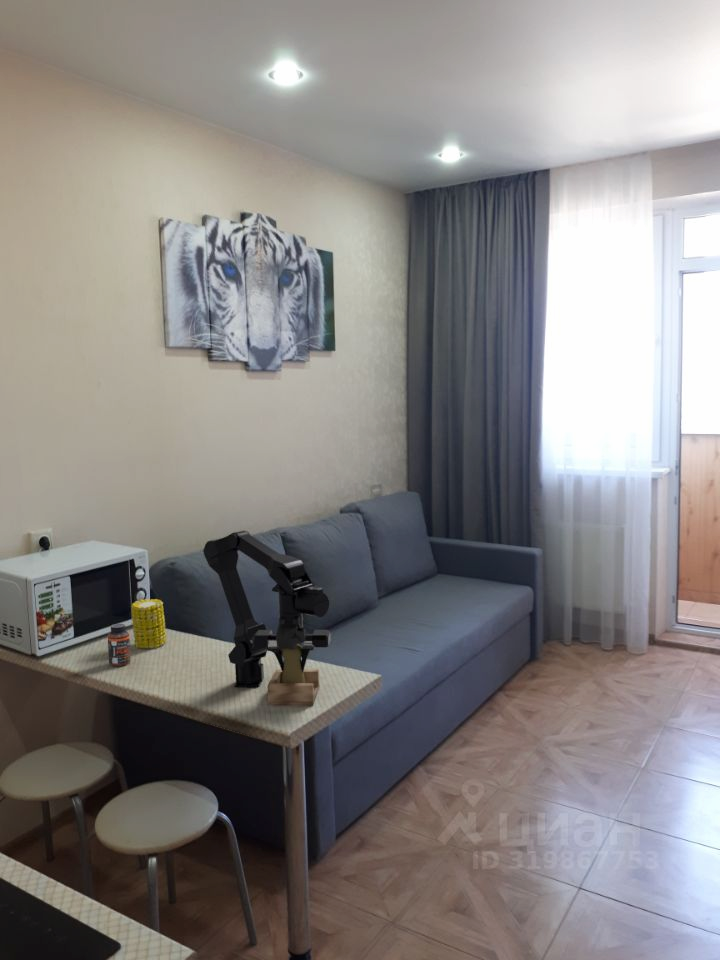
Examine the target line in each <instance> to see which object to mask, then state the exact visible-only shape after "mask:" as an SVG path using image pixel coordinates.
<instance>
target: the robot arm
mask: <svg viewBox="0 0 720 960" xmlns="http://www.w3.org/2000/svg"><path fill="white" fill-rule="evenodd" d="M202 550H203V556H204V558H205V560H206V562H207V564H208V566H209V567H210V568H211V569H212V570H213V571H214V572H215V573H216V574H217V575H218V577H219V580H220V583H221V586H222V589H223V593H224V595H225V597H226V601H227V604H228V607H229V610H230V612H231V616H232V619H233V623H234V624H235V629H234V634H233V641H234V647H233V648H232V650H231V651H230V652H229V653H228V659H229V663H230V664H234V665H235V666H234V667H235V669H234V670H235V683H234V688H235V687H236V688H241V687H242V688H243V687H246V688H247V687H253V688H257V687H260V685H261V683H262V682H263V681H264V679H265V674H264V672H265V671H264V669H265V667H264V663H262V659H263V658H266V657H267V652H268V651H271V652H272V653H273V654H274V656H275V658H276V659H277V661H278V664H279V667H280V670H282V672H283V670H284V658H283V656H282V649H291V650H293V649H296V648H297V644H299V645H301V644H302V643H303V645H302V646H301V647H302V656H301V669H302V672H303V671H304V670H305V667H306V664H307V661H308V657H309V654H310V651H315V648H328V647H329V646H330V644H331V637H332V636H331V631H330V630H329V629H314V630H313V633H306V628H305V627H304V624H303V623H304V622H303V621H304V617H303V615H306V616H311V617H317V618H322V617H324V616H325V615H327V612H328V611H329V607H330V600H329V596H328V595H327V594H326V593H324V589H323V587H315V583H314V582H313V579H312V578H311V576H310V574H309V573H308V570H307V569H306V567H305V563H304V562H303V561H302V560H301V559H299V558H297V557H294V556H292V555H288V554H283V553H279V552H277V551H276V550H274V549H273V548H271V546H270V547H269V546H268V545H267V544H265V543H263V542H262V541H260V540H259V539H257V538H256V537H254V536H252V535H251V534H250V531H247V530H239V531H234V532H232V533H230V534H228V535H226V536H224V537H222V538H221V537H220V538H217V539H212V540H211V539H210V540H208V541H206V543H205V545H204V547H203V549H202ZM239 552H241V553H243V555H245V556H246V557H248V558H249V559H251V560H252V561H255V562H256V563H257V564H258V565H260V566H261V567H263V568H265V570H266V571H267V573H268V576H269V577H270V578H271V579H272V580H273V581H274V582H275V583H276V584H275V585H274V586H273V588H271V591H272V592H274V593H277V594H278V617H279V618H278V620H279V621H278V626H277V632H276V634H275V633H274V634H273V631H272V629H267V628H266V625H265V623H264V622H263V623H259V622H258V621H256V620H255V618H254V615H253V612H252V609H251V607H250V603H249V600H248V598H247V595H246V591H245V589H244V586H243V583H242V580H241V577H240V575H239V571H238V569H237V568H238V567H237V566H238V560H239Z"/></svg>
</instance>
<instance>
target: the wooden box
mask: <svg viewBox="0 0 720 960" xmlns="http://www.w3.org/2000/svg"><path fill="white" fill-rule="evenodd" d="M319 671H320V670H319V669H304V671H303V673H304V678H305V683H282V679H283V672H282V670H281V669H275V671H274V673H273V674H272V675H271V678H270V680H269V682H268V684H267V706H268V707H269V706H270V707H276V706H277V707H279V706H281V707H284V706H285V707H288V706H289V707H291V706H292V707H293V706H294V707H296V706H297V707H298V706H300V707H302V706H303V707H305V706H308V707H311V706H312V707H313V706H314V705H315V701H316V698H317V696H318V694H319V693H318V692H319V690H320V686H321V685H320V672H319ZM271 705H272V706H271Z"/></svg>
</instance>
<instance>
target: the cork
mask: <svg viewBox="0 0 720 960" xmlns="http://www.w3.org/2000/svg"><path fill="white" fill-rule="evenodd" d="M302 647H303V646H302V645H301V644H297V648H296V649H293V650H291V649H282V656H283V658H284V670H283V679H282V683H305V678H304V673H303V672H302V669H301V660H302Z"/></svg>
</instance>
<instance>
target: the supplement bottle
mask: <svg viewBox="0 0 720 960" xmlns="http://www.w3.org/2000/svg"><path fill="white" fill-rule="evenodd" d="M126 629H127V628H126V624H125V623H115V624H114V623H113V624H112V625H110V632H109V633H108V635H107V650H108V663H109V666H111V667H123V666H127V665H129V664H130V663H131V659H132V658H131V655H132V654H131V642H130V641H131V640H130V632H129V631H127V630H126Z"/></svg>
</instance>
